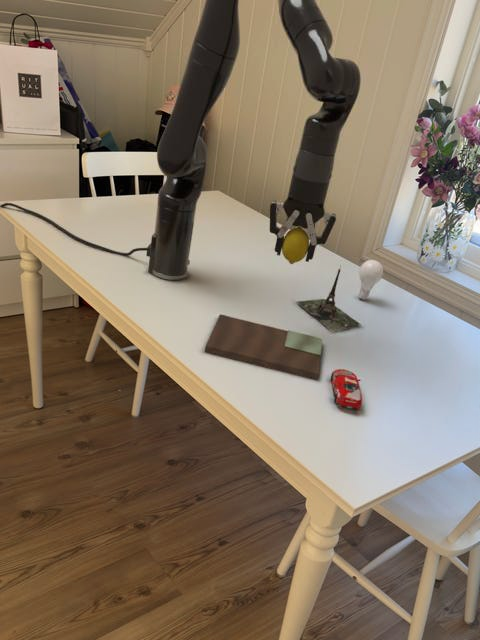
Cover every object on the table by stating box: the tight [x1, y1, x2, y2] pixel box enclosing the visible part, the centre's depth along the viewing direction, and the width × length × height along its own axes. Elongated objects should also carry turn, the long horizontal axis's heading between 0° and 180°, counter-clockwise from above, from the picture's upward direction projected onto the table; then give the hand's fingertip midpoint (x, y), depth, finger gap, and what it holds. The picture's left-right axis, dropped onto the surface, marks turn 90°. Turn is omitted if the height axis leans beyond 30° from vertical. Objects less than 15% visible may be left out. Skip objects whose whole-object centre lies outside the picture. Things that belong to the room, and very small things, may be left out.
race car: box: [330, 368, 363, 411], centre depth 121 cm, size 13×5×4 cm, turn 177°
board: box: [204, 314, 323, 381], centre depth 131 cm, size 24×16×2 cm, turn 81°
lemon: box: [281, 226, 310, 265], centre depth 126 cm, size 6×6×8 cm
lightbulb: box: [357, 259, 385, 301], centre depth 161 cm, size 6×6×11 cm
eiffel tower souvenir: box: [296, 265, 362, 333], centre depth 147 cm, size 15×10×13 cm
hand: (292, 257), depth 128 cm, fingers closed on lemon, 5 cm apart
